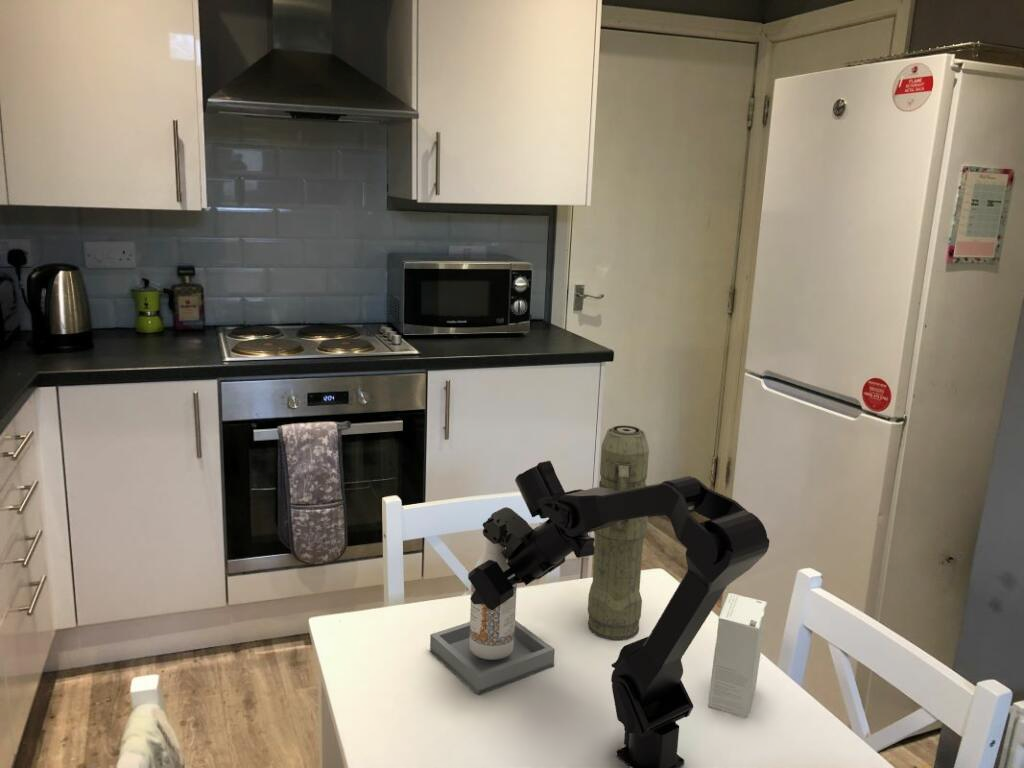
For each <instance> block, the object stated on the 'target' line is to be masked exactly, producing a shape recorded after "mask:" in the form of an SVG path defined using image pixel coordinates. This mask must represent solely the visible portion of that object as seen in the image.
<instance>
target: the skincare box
mask: <svg viewBox="0 0 1024 768" xmlns="http://www.w3.org/2000/svg"><path fill="white" fill-rule="evenodd" d="M767 608H768V601H764V600H760V599H757V598H753V597H752V598H751V597H747V596H743V595H740V594H736V593H731V592H728V594H727V596H726V599H725V600H724V603H723V605H722V608H721V611H720V613H719V617H718V623H717V632H716V640H715V641H716V642H715V648H714V652H713V653H714V655H713V661H712V662H713V663H712V669H711V677H710V685H709V686H710V687H709V692H708V702H707V706H708V707H709V708H713V709H715V710H719V711H723V712H726V713H729V714H732V715H736V716H740V717H744V718H749V714H750V713H751V712H750V711H751V708H752V705H753V701H754V696H755V690H756V689H757V681H758V676H759V675H758V674H759V669H760V668H759V666H760V661H761V653H762V645H763V640H764V639H763V637H764V632H765V631H764V630H765V623H766V617H767V610H768V609H767Z"/></svg>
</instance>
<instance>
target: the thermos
mask: <svg viewBox="0 0 1024 768" xmlns="http://www.w3.org/2000/svg"><path fill="white" fill-rule="evenodd" d="M600 448H601V450H600V466H599V475H600V480H599V482H598V483H599V484H598V487H601V488H612V489H614V490H618V491H623V490H628V489H633V488H638V487H643V486H647V484H646V479H647V477H648V468H649V467H648V466H649V455H650V453H649V452H650V449H649V444H648V440H647V435H646V432H645V431H644V430H642V429H640V428H639V427H637V426H632V425H623V424H622V425H615V426H613V427H610V428H608V429H607V430H606V433H605V436H604V438H603V441H602V443H601V447H600ZM648 521H649V516H646V517H639V518H633V519H626V520H621V521H620V522H618V523H616V524H614V525H612V526H609V527H607V528H603V529H600V530H596V531H593V532H594V535H595V536H594V539H595V541H594V547H595V551H594V552H595V553H594V555H593V569H592V583H591V584H590V588H589V593H588V597H587V601H588V602H587V614H588V620H587V627H588V630H589V632H590V633H591V634H593V635H595V636H596V637H599V638H601V639H604V640H607V641H617V642H618V641H619V642H620V641H628V640H630V639H633V638H634V637H636V636H637V635H638V634H639V631H640V619H641V618H642V607H643V600H642V595H641V591H640V586H641V575H642V559H643V545H644V538H645V537H646V534H647V532H648V523H649V522H648Z"/></svg>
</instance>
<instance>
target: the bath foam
mask: <svg viewBox="0 0 1024 768" xmlns="http://www.w3.org/2000/svg"><path fill="white" fill-rule="evenodd" d="M485 539H486V541H485V542H486V543H485V551H483V554H482V555H481V556H480V557H479V559H478V560H477V562H476V564H475V566H474V568H473V569H475V568H476V567H477V566H479V565H481V564H483V563H484V562H486V561H488V560H492V561H496V562H497V563H498V565H499V566H500V568H501V569H502V571H503V572H504V571H506V570H508V569H509V568H510V567H509V566H508V564H507V563H506V561H507V560H508V558H507V559H505V557H504V556H503V555H502V553H501V552H502V551H503V550H504V549H505V547H502V546H501V545H500V544H499V543H497V544H493V543H492V542H490V541H489V540H488V539H487V538H486V537H485ZM514 576H515V574H514V575H512V576H511V577H509V578H508V580H509V579H511V578H512V577H514ZM470 584H471V585H470V597H471V596H472V594H473V593H474V591H475V588H474V586H473V585H472V583H471V582H470ZM517 585H518V584H517V583H516V584H514V585H513V587H514V596H513V597H511V598H510V599H509V600H507V601H506V602H504V603H503V604H502V605H500V606H499V607H497V608H495V609H494V610H490V609H488V608H487V606H486V605H485V604H473V603H472V601H471V600H470V609H469V610H470V612H469V613H470V617H469V622H470V640H469V647H470V650H471V652H472V653H473V654H474V655H475V656H477V657H479V658H482V659H487V660H497V659H502V658H505V657H507V656H509V655H510V654H511V653H512V651H513V648H514V632H515V620H516V609H517V608H516V605H517V589H518V588H517V587H518V586H517Z"/></svg>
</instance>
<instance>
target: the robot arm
mask: <svg viewBox="0 0 1024 768" xmlns="http://www.w3.org/2000/svg"><path fill="white" fill-rule="evenodd" d="M514 483H515V484H516V486H517V489H519V492H520V495H521V496H522V499H523V500H524V503H525V504H526V505H525V506H526V507H527V509H528V512H529V514H530V516H531V517H532V518H535V517H537V516H538V517H539V518H540V519H541V520H544V519H547V518H548V519H547V520H545V521H544V522H543V523H542V524H540V525H538V526H536V527H535V528H533V527H532V526H531V525H529V523H528V522H527V521H526V520H525V518H523V517H522V516H520V515H519V514H518V513H517V512H516V511H515V510H513V509H512V508H510V507H506V506H504V507H502V508H501V509H499V510H497V511H495V512H493V513H491V515H490V517H488V518H487V520H486V521H484V522H483V523H482V527H483V530H482V535H483V537H485V539H486V538H487V539H488V540H489V541H490V542H492V543H493V544H497V543H499V544H500V545H501V546H502V547H505V549H504V550H503V551H502V552H501V553H502V555H503V556H504V557H505V559H507V558H508V560H507V561H506V563H507V564H508V566H509V567H510V568H509V569H508V570H506V571H504V572H503V571H502V569H501V568H500V566H499V565H498V563H497V562H496V561H492V560H488V561H486V562H484V563H483V564H481V565H479V566H477V567H476V568H475V567H474V568H475V569H474V568H473V569H472V570H471V571H469V572H468V574H467V578H468V580H469V582H470V584H471V583H472V585H473V586H474V588H475V591H474V593H473V594H472V596H471V595H470V599H469V600H470V602H471V601H472V603H473V604H485V605H486V606H487V608H488V609H490V610H494V609H495V608H497V607H499V606H500V605H502V604H503V603H504V602H506V601H507V600H509V599H510V598H511V597H513V596H514V587H513V585H514V584H516V583H517V585H518V584H522V583H523V584H524V586H527V585H530V584H531V583H532V582H534V581H537V580H540V579H541V578H543V577H545V576H546V575H548V574H549V573H551V572H552V571H554V570H556V569H557V568H558V567H560V566H562V565H563V564H564V563H565V562H566V557H567V556H568V555H570V554H571V553H574V556H575V558H577V559H581V558H585V557H590V556H594V553H595V552H594V551H595V537H592V536H590V535H589V533H592V532H594V531H596V530H600V529H603V528H607V527H609V526H612V525H614V524H616V523H618V522H620V521H621V520H626V519H633V518H639V517H646V516H648V517H652V516H657V515H665V516H666V517H667V518H668V519H669V520H670V523H671V526H672V529H673V532H674V534H675V538H676V539H677V541H679V542H680V543H681V544H682V545H683V546H684V547H685V548H686V550H685V558H686V559H685V561H686V564H687V571H686V572H685V573H684V575H683V578H682V579H681V581H680V583H679V584H678V586H677V588H676V589H675V591H674V593H673V594H672V596H671V598H670V600H669V601H668V603H667V605H666V607H664V608H665V609H663V611H662V613H661V615H660V617H659V619H658V620H657V622H656V624H655V626H654V627H653V629H652V630H651V632H650V634H649V635H648V636H646V637H643V638H641V639H637V640H635V641H633V642H630V643H628V644H626V645H623V646H622V648H621V650H620V651H619V654H618V657H617V659H616V660H615V662H613V663H611V668H613V671H612V673H611V677H610V682H611V689H612V690H611V691H612V696H613V702H614V708H615V713H616V714H615V715H616V719H617V720H618V722H620V723H621V724H622V725H623V729H624V737H623V738H624V739H623V744H624V745H625V746H623V747H621V748H619V749H617V750H616V754H615V755H616V756H617V757H618V758H619V759H620V760H621V761H622V762H624V763H625V764H626V765H628V767H630V768H680V767H683V766H684V765H685V759H684V758H683V757H681V756H680V755H678V748H679V747H678V746H679V735H680V733H679V732H680V725H679V724H677V721H680V720H682V719H683V718H688V717H690V715H691V713H692V711H693V709H694V704H693V702H692V700H691V697H690V696H689V693H688V691H687V690H686V687H685V685H684V683H683V682H682V677H683V674H684V666H683V663H682V658H683V656H684V655H685V653H686V652H687V650H688V648H690V647H689V646H690V645H691V644H692V642H693V641H694V639H695V637H696V636H697V635H698V632H699V631H700V630H701V628H702V627H703V625H704V623H705V622H706V620H707V618H708V617H709V616H710V614H711V612H712V610H713V609H714V607H715V605H716V604H717V603H718V601H719V599H721V597H722V595H723V594H724V592H725V590H726V589H727V587H728V586H729V585H730V584H731V583H733V582H734V581H735V580H737V579H739V578H741V576H742V575H744V574H746V573H747V572H748V571H750V570H751V569H752V568H753V567H754V566H755V565H756V564H757V563H758V562H759V561H760V560H761V559H762V558H763V557H764V556H765V555H766V554H767V552H768V550H769V547H770V539H769V537H768V533H767V530H766V528H765V526H764V524H763V522H762V521H761V519H760V518H759V517H758V516H757V515H755V514H754V513H752V512H751V511H748V510H747V509H746V508H745V507H743V505H741V504H740V503H739V502H738V501H736V500H735V499H732V498H730V497H728V496H726V495H724V494H721V493H719V492H717V491H715V490H713V489H711V488H709V487H708V486H707V485H705V484H704V482H702V481H701V480H699V479H698V478H696V477H694V476H693V477H692V476H690V475H684V476H680V477H676V478H673V479H668V480H664V481H662V482H659V483H654V484H649V485H646V486H643V487H638V488H633V489H628V490H623V491H618V490H614V489H612V488H601V487H599V486H597V487H593V488H588V489H581V488H579V489H573V490H570V491H565V489H564V487H563V485H562V483H561V481H560V480H559V478H558V476H557V474H556V471H555V467H554V466H553V463H552V461H551V460H546V461H541V462H540V461H539V462H538V463H537V465H535V466H532V467H531V468H529V469H527V470H525V471H523V472H521V473H519V474H518V475H516V477H515V480H514ZM690 510H693V511H694V512H695V513H697V514H698V515H700V516H703V517H704V518H707V519H708V520H705V521H702V522H699V520H697V519H696V518H695V517H694V516H692V514H691V512H690ZM514 574H515V576H514V577H512V578H511V579H509V580H508V578H509V577H511V576H512V575H514Z"/></svg>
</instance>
